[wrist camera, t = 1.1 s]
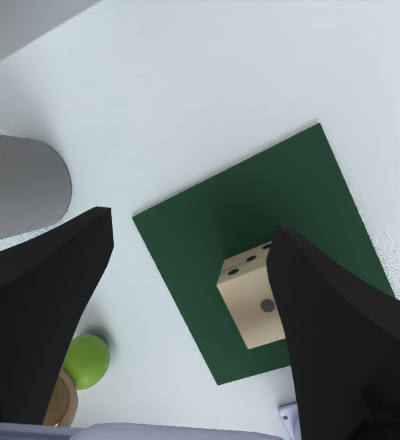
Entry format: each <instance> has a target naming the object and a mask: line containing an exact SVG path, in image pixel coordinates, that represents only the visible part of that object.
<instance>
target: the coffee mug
mask: <svg viewBox="0 0 400 440" xmlns="http://www.w3.org/2000/svg"><path fill="white" fill-rule="evenodd" d="M71 193H72V184H71V179H70V175H69V172H68V169H67V167H66V165H65V163H64V161H63V160H62V158H61V157H60V156H59V155H58V153H57V152H56V151H55V150H54V149H52V148H51V147H50V146H48V145H47V144H45V143H43V142H41V141H38V140H33V139H26V138H19V137H12V136H5V135H0V239H3V238H7V237H11V236H14V235H18V234H22V233H25V232H29V231H33V230H36V229H40V228H44V227H47V226H50V225H53V224H54V223H56V222H57V221H59V220H60V219H61V218H62V217H63V215H64V214H65V213H66V211H67V209H68V207H69V204H70V200H71Z"/></svg>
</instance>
